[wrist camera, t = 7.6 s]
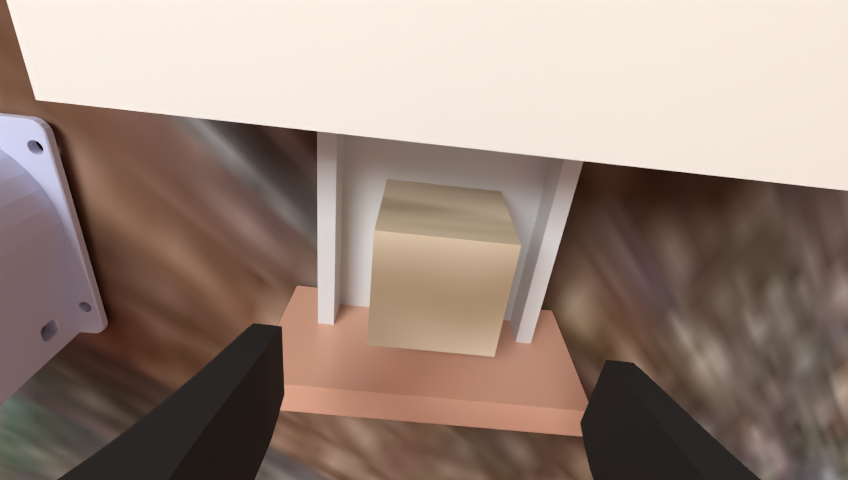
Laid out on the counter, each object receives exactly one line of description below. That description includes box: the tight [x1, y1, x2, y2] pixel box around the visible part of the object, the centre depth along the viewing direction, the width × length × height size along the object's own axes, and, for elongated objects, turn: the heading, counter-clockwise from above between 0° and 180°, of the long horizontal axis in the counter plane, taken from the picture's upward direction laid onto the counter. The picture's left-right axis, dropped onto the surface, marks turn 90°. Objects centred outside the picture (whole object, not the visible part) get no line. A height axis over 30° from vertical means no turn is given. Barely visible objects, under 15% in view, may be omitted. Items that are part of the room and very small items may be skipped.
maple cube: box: [367, 179, 521, 357], centre depth 14 cm, size 4×4×4 cm
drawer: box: [278, 131, 589, 436], centre depth 15 cm, size 9×11×5 cm
